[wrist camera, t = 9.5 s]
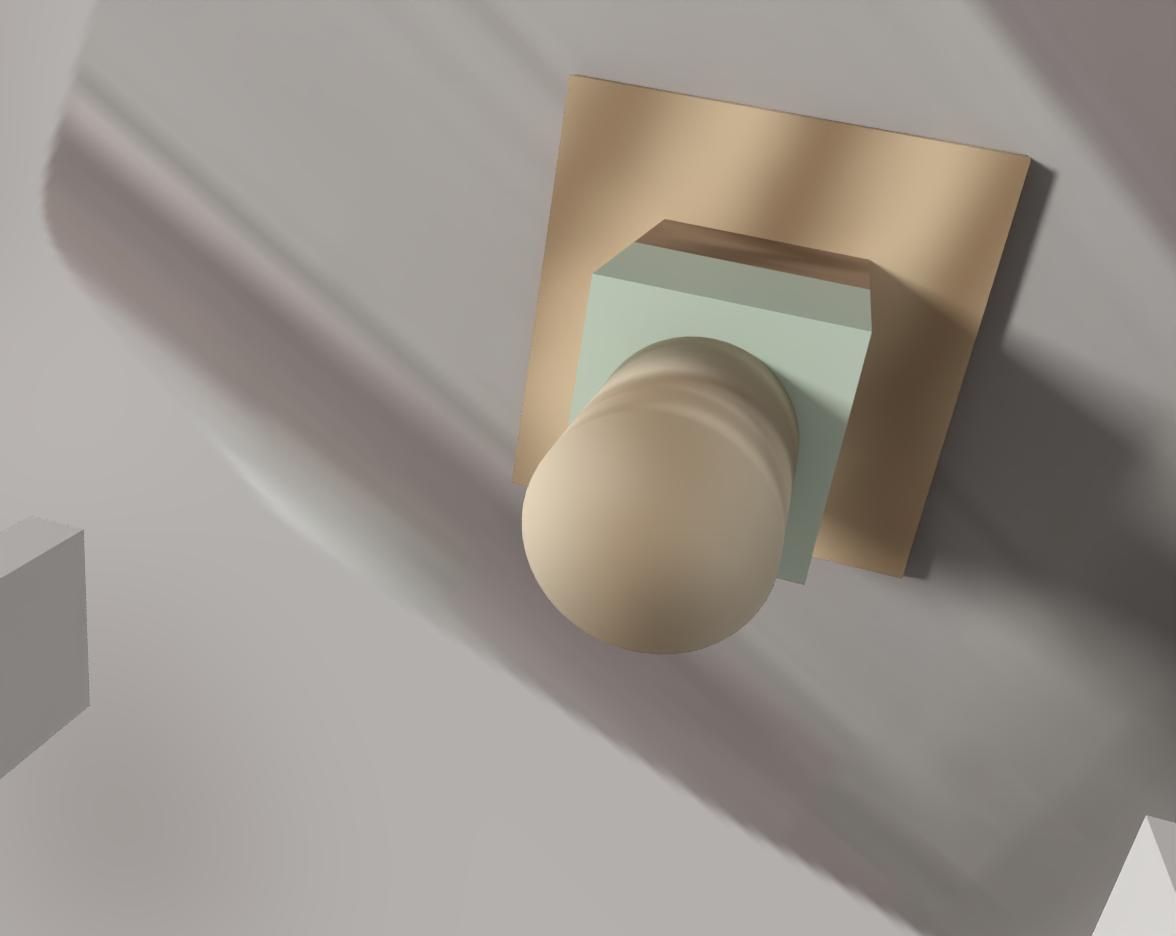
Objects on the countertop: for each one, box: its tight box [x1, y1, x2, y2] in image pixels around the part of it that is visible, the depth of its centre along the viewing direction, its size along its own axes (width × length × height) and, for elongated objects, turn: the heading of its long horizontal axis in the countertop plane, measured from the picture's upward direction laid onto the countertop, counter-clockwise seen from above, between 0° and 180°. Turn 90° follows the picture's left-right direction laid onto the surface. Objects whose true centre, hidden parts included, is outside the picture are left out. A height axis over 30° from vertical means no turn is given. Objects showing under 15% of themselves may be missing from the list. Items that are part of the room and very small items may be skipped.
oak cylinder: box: [522, 336, 799, 654], centre depth 23 cm, size 5×5×6 cm
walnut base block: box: [635, 219, 870, 290], centre depth 32 cm, size 6×6×5 cm
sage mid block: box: [568, 242, 872, 585], centre depth 28 cm, size 6×6×5 cm
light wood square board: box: [512, 75, 1031, 578], centre depth 35 cm, size 14×14×1 cm
